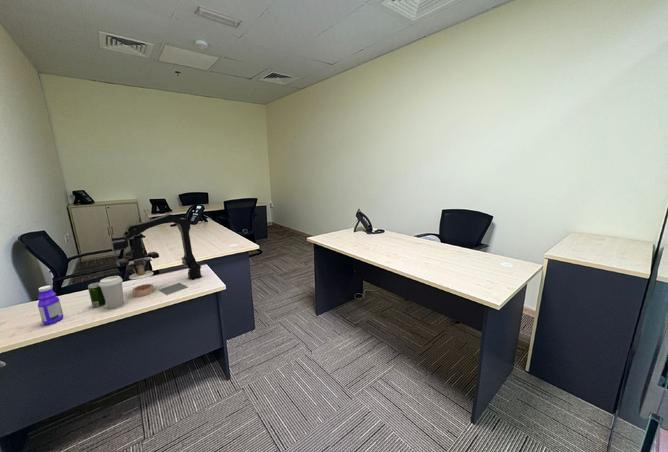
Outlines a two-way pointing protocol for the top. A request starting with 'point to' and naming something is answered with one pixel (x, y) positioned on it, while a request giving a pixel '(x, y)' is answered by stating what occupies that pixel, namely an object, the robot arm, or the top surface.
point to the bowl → (143, 290)
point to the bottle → (49, 305)
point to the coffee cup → (112, 291)
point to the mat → (172, 288)
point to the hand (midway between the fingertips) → (141, 273)
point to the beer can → (96, 295)
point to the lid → (141, 273)
